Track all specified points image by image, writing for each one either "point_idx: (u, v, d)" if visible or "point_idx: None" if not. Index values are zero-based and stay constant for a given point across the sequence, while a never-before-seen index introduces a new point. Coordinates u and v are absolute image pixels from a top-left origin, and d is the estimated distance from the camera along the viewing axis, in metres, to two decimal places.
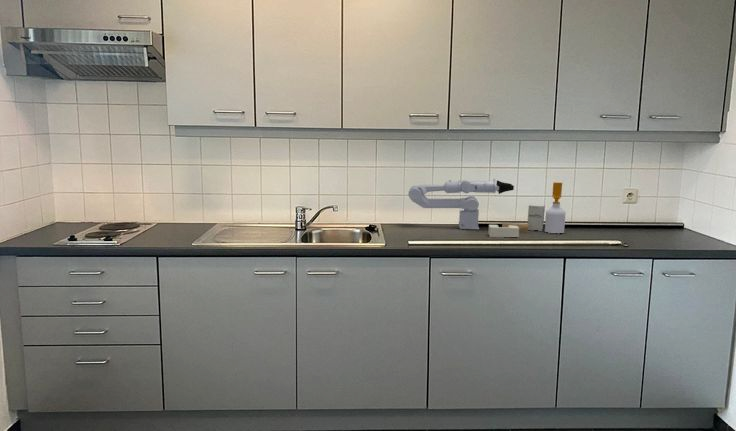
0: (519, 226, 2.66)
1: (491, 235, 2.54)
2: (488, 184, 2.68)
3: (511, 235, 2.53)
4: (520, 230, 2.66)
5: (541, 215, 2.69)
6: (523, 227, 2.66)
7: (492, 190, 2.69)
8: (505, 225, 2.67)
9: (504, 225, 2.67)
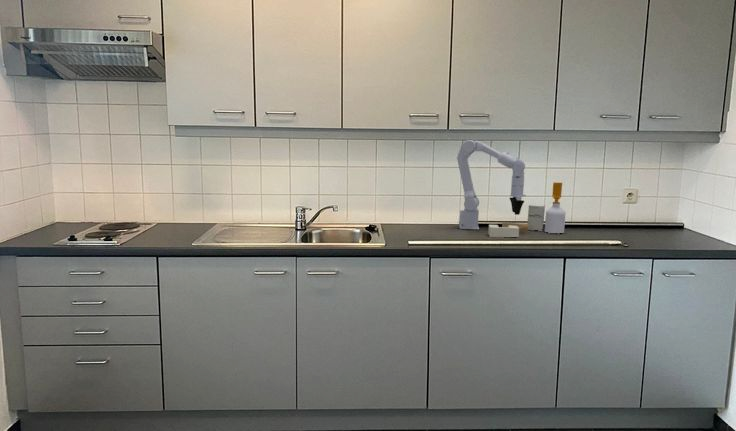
0: (519, 226, 2.66)
1: (491, 235, 2.54)
2: (521, 189, 2.63)
3: (511, 235, 2.53)
4: (520, 230, 2.66)
5: (541, 215, 2.69)
6: (523, 227, 2.66)
7: (514, 193, 2.63)
8: (505, 225, 2.67)
9: (504, 225, 2.67)
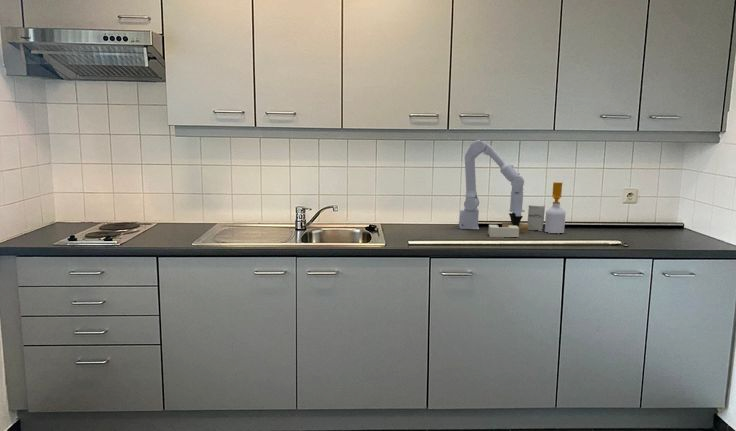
0: (519, 226, 2.66)
1: (491, 235, 2.54)
2: (520, 205, 2.64)
3: (511, 235, 2.53)
4: (520, 230, 2.66)
5: (541, 215, 2.69)
6: (523, 227, 2.66)
7: (513, 209, 2.65)
8: (505, 225, 2.67)
9: (504, 225, 2.67)
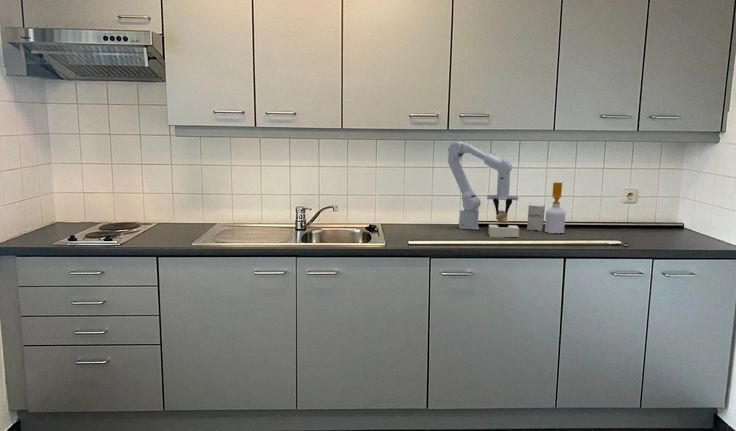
0: (498, 214, 2.64)
1: (491, 235, 2.54)
2: (498, 190, 2.64)
3: (511, 235, 2.53)
4: (498, 218, 2.64)
5: (541, 215, 2.69)
6: (499, 216, 2.62)
7: None
8: None
9: None
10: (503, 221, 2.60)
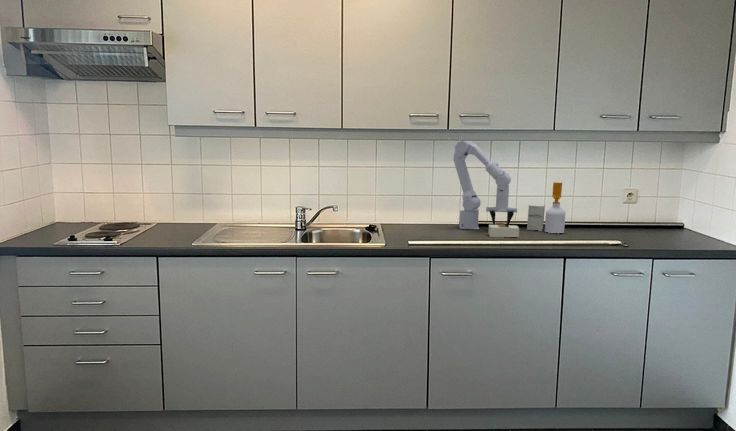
0: None
1: (491, 235, 2.54)
2: (497, 202, 2.64)
3: (511, 235, 2.53)
4: None
5: (541, 215, 2.69)
6: None
7: None
8: (496, 223, 2.72)
9: (496, 223, 2.72)
10: None
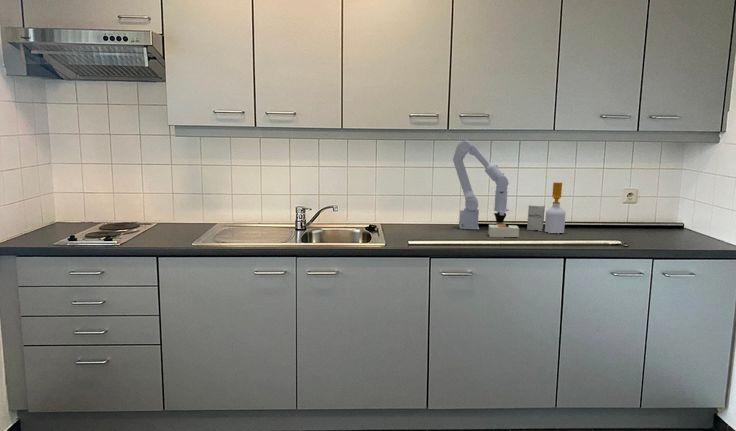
0: (498, 226, 2.63)
1: (491, 235, 2.54)
2: (504, 204, 2.68)
3: (511, 235, 2.53)
4: None
5: (541, 215, 2.69)
6: None
7: (497, 208, 2.69)
8: (496, 223, 2.70)
9: (496, 223, 2.70)
10: None
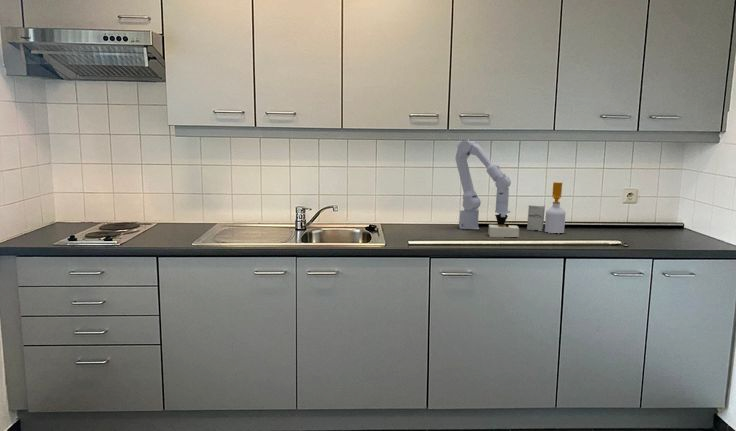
0: None
1: (491, 235, 2.54)
2: (505, 206, 2.63)
3: (511, 235, 2.53)
4: None
5: (541, 215, 2.69)
6: None
7: (498, 210, 2.64)
8: None
9: None
10: None
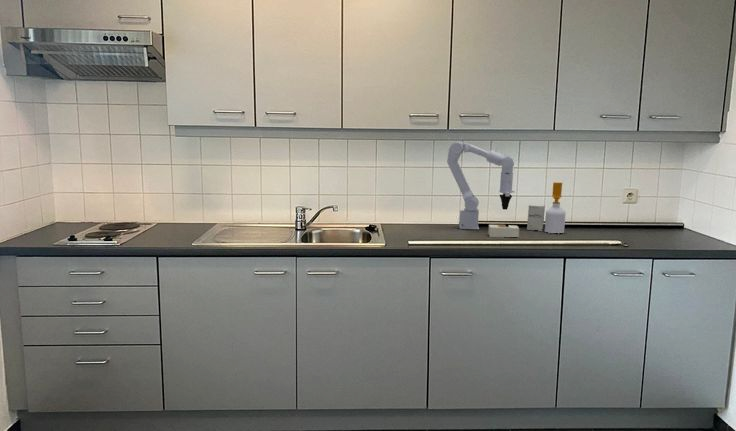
0: None
1: (491, 235, 2.54)
2: (509, 185, 2.65)
3: (511, 235, 2.53)
4: None
5: (541, 215, 2.69)
6: None
7: (503, 189, 2.66)
8: None
9: None
10: None
